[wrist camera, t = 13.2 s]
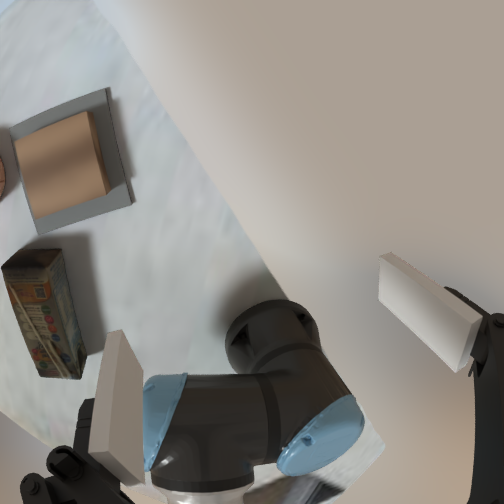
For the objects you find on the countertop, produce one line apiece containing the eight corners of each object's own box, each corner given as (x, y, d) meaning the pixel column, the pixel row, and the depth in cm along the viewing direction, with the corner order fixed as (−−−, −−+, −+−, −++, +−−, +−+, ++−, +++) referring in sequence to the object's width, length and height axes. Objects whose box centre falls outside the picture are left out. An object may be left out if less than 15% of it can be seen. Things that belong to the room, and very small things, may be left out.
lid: (111, 190, 34) (106, 194, 32) (44, 213, 33) (35, 219, 30) (92, 112, 30) (86, 110, 28) (24, 140, 29) (14, 141, 26)
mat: (132, 203, 36) (131, 204, 36) (40, 233, 34) (38, 235, 34) (105, 89, 30) (104, 88, 30) (11, 128, 28) (9, 128, 27)
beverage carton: (47, 355, 41) (37, 381, 35) (16, 246, 34) (-4, 266, 28) (88, 356, 43) (82, 384, 37) (62, 244, 36) (46, 264, 30)
